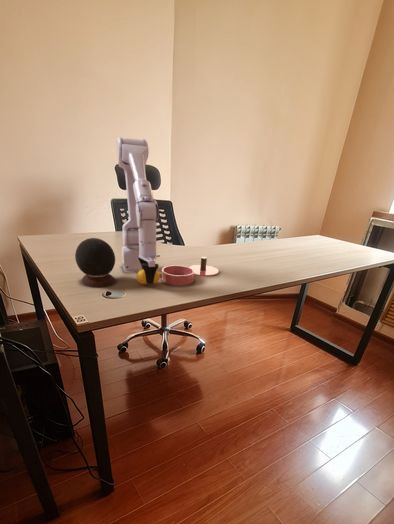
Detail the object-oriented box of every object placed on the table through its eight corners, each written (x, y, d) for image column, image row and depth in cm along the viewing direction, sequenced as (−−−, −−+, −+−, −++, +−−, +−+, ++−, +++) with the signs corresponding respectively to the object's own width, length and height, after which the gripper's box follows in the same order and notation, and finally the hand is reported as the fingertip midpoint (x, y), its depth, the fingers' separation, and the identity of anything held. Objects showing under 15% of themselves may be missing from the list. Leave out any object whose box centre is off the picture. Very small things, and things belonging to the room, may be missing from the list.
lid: (192, 278, 119) (193, 263, 116) (183, 267, 129) (184, 253, 126) (223, 276, 123) (224, 262, 120) (211, 266, 133) (213, 252, 130)
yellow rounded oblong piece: (138, 286, 106) (137, 272, 103) (135, 281, 109) (135, 267, 107) (163, 284, 108) (163, 271, 106) (160, 280, 112) (160, 266, 109)
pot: (165, 287, 109) (166, 276, 107) (158, 275, 119) (158, 265, 117) (197, 285, 113) (198, 275, 111) (188, 274, 123) (188, 264, 121)
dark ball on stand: (119, 286, 107) (116, 243, 99) (79, 289, 102) (72, 243, 94) (114, 274, 117) (111, 233, 109) (78, 276, 113) (72, 234, 105)
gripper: (164, 246, 96) (164, 287, 104) (155, 236, 108) (155, 273, 115) (142, 247, 94) (143, 288, 102) (135, 236, 106) (136, 274, 113)
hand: (148, 280), depth 108 cm, fingers closed on yellow rounded oblong piece, 5 cm apart
